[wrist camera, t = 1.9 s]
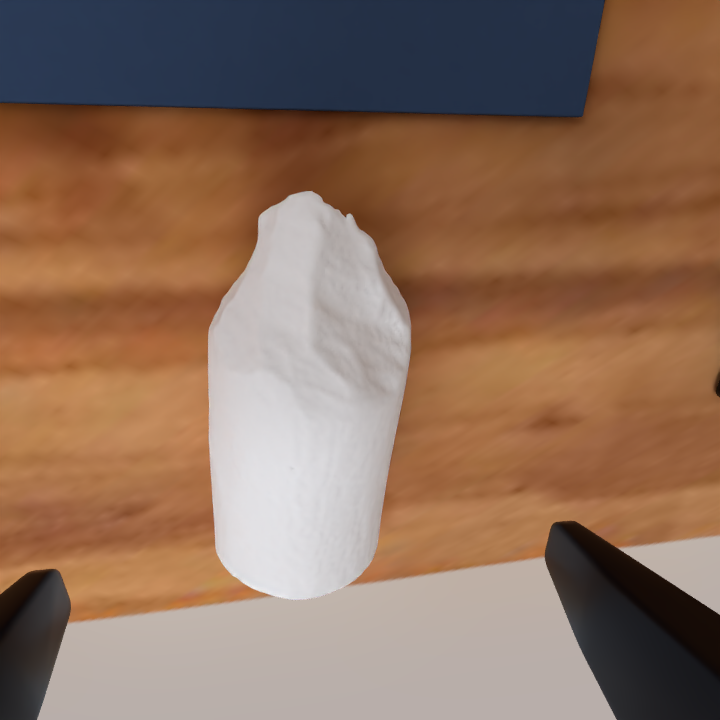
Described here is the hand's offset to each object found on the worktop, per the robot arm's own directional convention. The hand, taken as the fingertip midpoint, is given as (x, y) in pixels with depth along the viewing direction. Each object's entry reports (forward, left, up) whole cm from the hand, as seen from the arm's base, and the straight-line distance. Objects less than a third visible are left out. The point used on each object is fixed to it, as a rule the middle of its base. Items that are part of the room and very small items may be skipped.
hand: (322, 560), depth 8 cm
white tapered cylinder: (0, 0, -9) cm, 9 cm away
